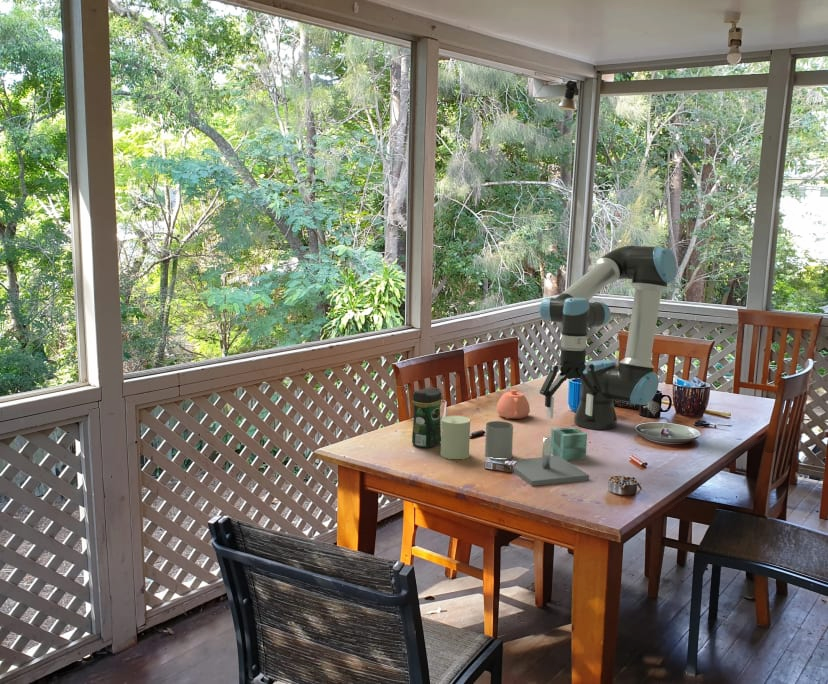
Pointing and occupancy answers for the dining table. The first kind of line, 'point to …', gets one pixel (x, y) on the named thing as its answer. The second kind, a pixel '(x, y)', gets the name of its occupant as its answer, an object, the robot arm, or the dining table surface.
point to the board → (548, 471)
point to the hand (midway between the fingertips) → (569, 416)
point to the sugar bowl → (513, 405)
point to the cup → (499, 439)
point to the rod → (546, 452)
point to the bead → (568, 443)
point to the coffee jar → (426, 417)
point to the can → (455, 437)
